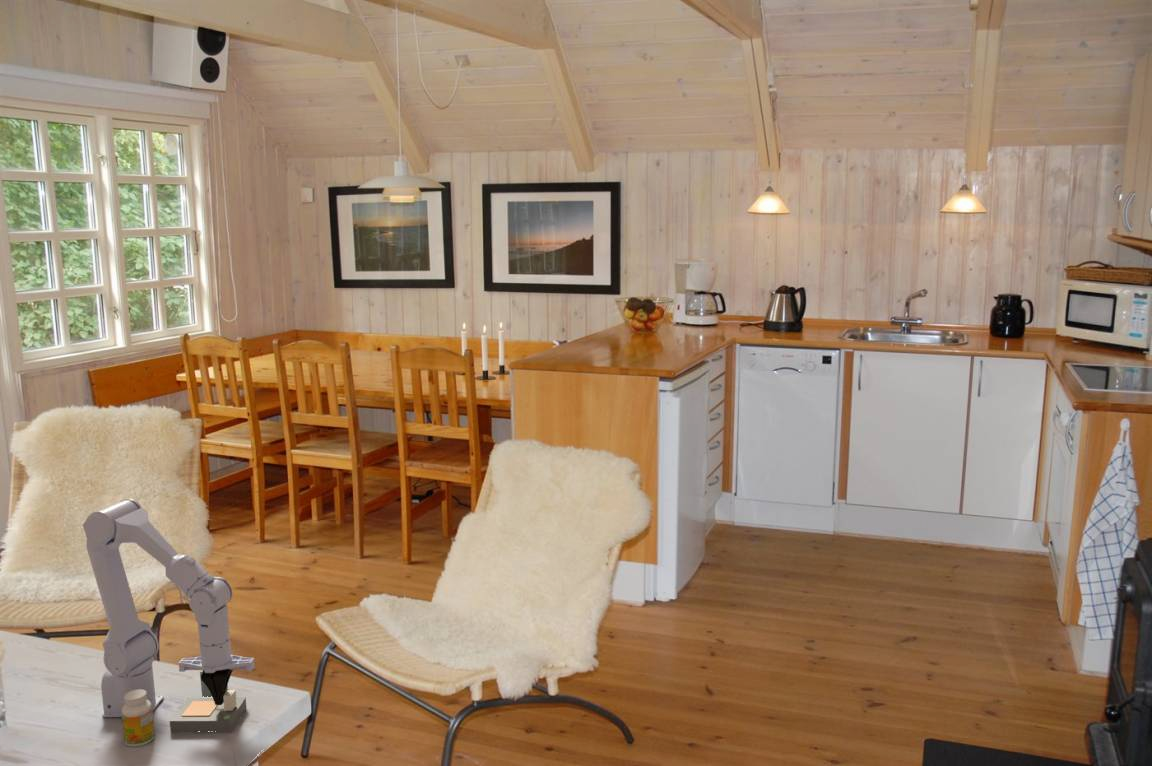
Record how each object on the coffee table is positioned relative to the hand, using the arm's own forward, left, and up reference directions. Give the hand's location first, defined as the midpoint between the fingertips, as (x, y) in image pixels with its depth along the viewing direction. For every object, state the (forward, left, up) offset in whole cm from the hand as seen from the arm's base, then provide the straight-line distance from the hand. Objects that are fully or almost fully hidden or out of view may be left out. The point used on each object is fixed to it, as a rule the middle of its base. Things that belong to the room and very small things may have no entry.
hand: (220, 702), depth 193 cm
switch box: (-3, 0, -4) cm, 5 cm away
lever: (+2, 0, -1) cm, 2 cm away
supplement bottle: (-14, -7, -4) cm, 16 cm away
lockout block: (-6, +11, -4) cm, 13 cm away
